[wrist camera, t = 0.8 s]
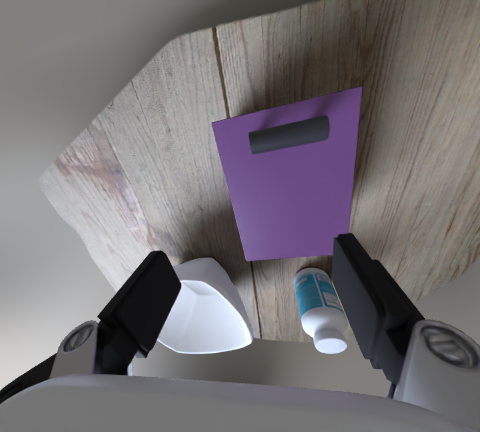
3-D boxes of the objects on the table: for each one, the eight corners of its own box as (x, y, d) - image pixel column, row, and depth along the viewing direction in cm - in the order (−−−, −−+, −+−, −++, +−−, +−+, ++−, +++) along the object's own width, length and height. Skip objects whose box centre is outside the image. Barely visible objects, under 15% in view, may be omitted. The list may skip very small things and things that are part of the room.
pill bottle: (293, 289, 42) (305, 357, 30) (292, 266, 38) (304, 333, 27) (327, 288, 40) (354, 359, 29) (329, 264, 37) (359, 333, 25)
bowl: (192, 309, 51) (175, 357, 41) (142, 253, 42) (103, 297, 32) (265, 295, 44) (266, 348, 34) (223, 224, 35) (207, 267, 25)
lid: (213, 122, 18) (196, 124, 14) (358, 86, 16) (395, 75, 11) (246, 257, 27) (243, 285, 22) (344, 249, 24) (362, 279, 20)
